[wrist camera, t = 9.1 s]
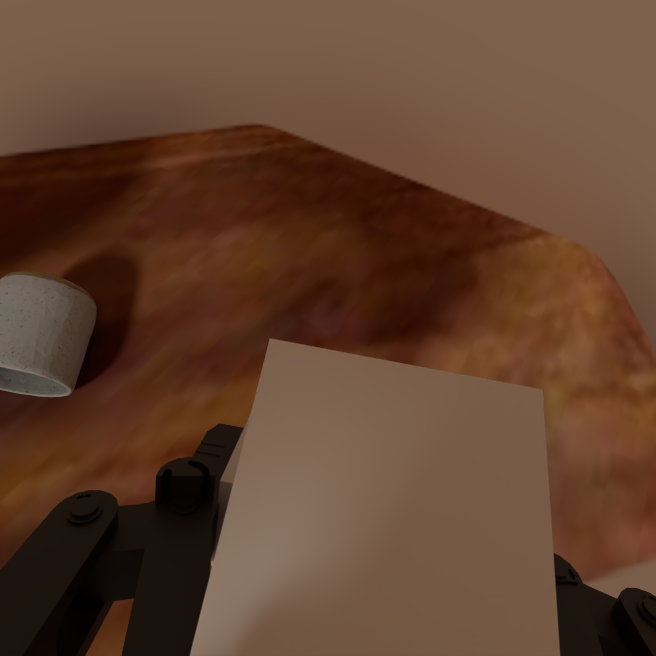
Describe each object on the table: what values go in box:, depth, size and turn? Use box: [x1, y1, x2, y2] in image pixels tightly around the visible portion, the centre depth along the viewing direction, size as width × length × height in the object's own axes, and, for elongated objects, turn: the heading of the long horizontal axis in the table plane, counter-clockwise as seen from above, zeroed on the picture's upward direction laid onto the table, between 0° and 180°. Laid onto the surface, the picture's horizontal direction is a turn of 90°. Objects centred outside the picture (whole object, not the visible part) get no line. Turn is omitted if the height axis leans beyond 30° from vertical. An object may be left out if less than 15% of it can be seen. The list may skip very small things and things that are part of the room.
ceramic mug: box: [0, 271, 97, 397], centre depth 31 cm, size 11×8×8 cm
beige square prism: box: [190, 339, 560, 656], centre depth 12 cm, size 6×6×12 cm
